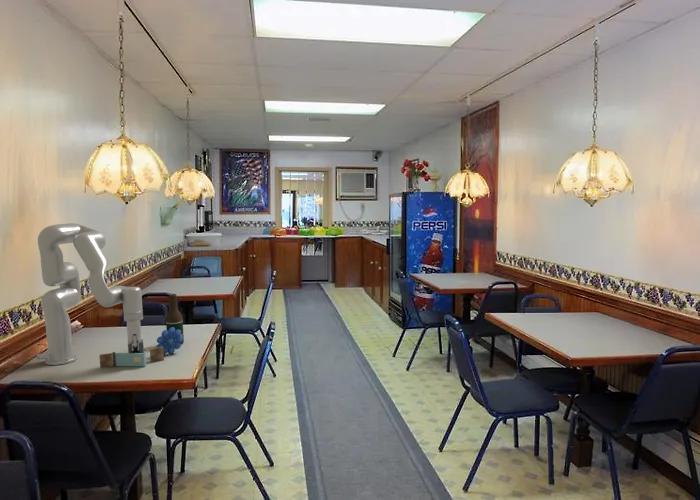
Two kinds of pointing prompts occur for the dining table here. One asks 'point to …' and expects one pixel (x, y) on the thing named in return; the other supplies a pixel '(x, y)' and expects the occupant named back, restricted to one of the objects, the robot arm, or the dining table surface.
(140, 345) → the doorstop block
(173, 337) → the grapes
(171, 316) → the beer bottle
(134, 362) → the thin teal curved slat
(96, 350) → the dining table surface
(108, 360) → the brown wooden block
